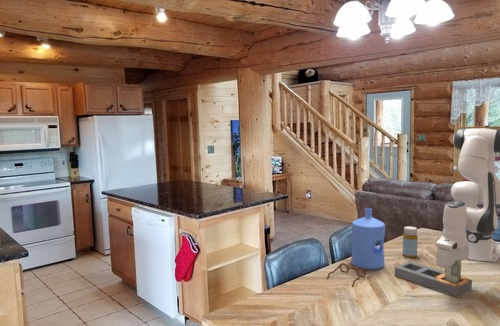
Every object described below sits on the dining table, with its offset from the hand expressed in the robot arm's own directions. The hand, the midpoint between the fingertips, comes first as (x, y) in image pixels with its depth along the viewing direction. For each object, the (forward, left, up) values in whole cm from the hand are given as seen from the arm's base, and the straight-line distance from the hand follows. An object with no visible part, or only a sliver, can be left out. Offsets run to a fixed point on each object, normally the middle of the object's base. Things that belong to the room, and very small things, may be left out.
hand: (452, 272), depth 161 cm
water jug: (+4, -39, -7) cm, 40 cm away
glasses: (+26, -34, -8) cm, 44 cm away
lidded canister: (-23, -33, -7) cm, 41 cm away
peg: (0, 0, -6) cm, 6 cm away
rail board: (0, -9, -7) cm, 11 cm away
